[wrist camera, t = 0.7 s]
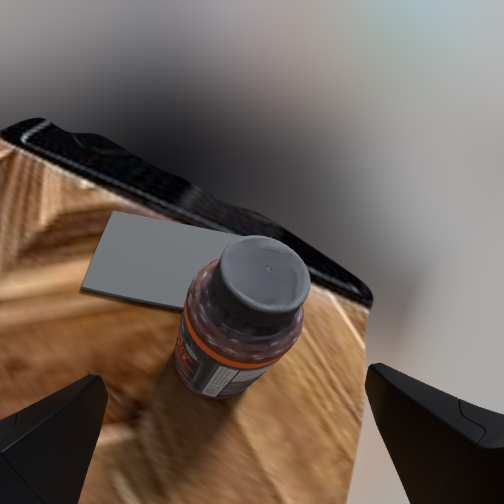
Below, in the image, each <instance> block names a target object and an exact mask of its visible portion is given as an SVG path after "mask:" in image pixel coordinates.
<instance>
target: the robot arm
mask: <svg viewBox="0 0 504 504" xmlns="http://www.w3.org/2000/svg"><path fill="white" fill-rule="evenodd" d="M365 390H366V394H367V397H368V400H369V403H370V406H371V409H372V412H373V416H374V419H375V422H376V425H377V427H378V429H379V432H380V434H381V436H382V439H383V441H384V443H385V445H386V448H387V450H388V452H389V454H390V457H391V459H392V461H393V464H394V466H395V468H396V471H397V473H398V475H399V478H400V480H401V482H402V484H403V487H404V489H405V492H406V494H407V497H408V499H409V502H410V504H504V414H500V413H497V412H493V411H490V410H487V409H484V408H481V407H478V406H476V405H473V404H471V403H468V402H466V401H464V400H461V399H458V398H457V397H454V396H452V395H450V394H448V393H445V392H443V391H441V390H438V389H436V388H434V387H432V386H429V385H427V384H425V383H423V382H421V381H419V380H417V379H414V378H412V377H410V376H408V375H406V374H404V373H401V372H399V371H397V370H395V369H393V368H391V367H389V366H387V365H385V364H382V363H376V364H371V365H370V366H369V367H368V371H367V376H366V381H365ZM107 401H108V393H107V391H106V388H105V385H104V383H103V380H102V378H101V376H99V375H95V374H89V375H87V376H85V377H83V378H81V379H79V380H77V381H76V382H74V383H72V384H70V385H68V386H66V387H64V388H62V389H61V390H59V391H57V392H55V393H53V394H51V395H49V396H47V397H45V398H43V399H42V400H40V401H38V402H36V403H34V404H32V405H30V406H28V407H26V408H24V409H22V410H20V411H18V413H17V412H16V413H14V414H12V415H10V416H8V417H6V418H4V419H2V420H0V504H78V501H79V498H80V494H81V491H82V487H83V484H84V481H85V477H86V474H87V471H88V468H89V464H90V461H91V458H92V455H93V452H94V449H95V446H96V443H97V440H98V437H99V434H100V431H101V427H102V422H103V418H104V413H105V409H106V405H107Z"/></svg>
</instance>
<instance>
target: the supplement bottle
mask: <svg viewBox="0 0 504 504" xmlns="http://www.w3.org/2000/svg"><path fill="white" fill-rule="evenodd" d="M309 290H310V276H309V272H308V269H307V267H306V266H305V264H304V262H303V261H302V259H301V258H300V257H299V256H298V255H297V254H296V253H295V252H294V251H293V250H292V249H290V248H289V247H288V246H286V245H284V244H283V243H281V242H279V241H277V240H274V239H272V238H268V237H264V236H244V237H241V238H238V239H236V240H234V241H232V242H231V243H230V244H229V245H227V246H226V248H225V249H224V251H223V252H222V254H221V257H220V258H219V259H216V260H214V261H212V262H210V263H209V264H207V265H206V266H204V267H203V268H202V269H201V270H200V271H199V272H198V273H197V275H196V276H195V277H194V279H193V280H192V282H191V285H190V287H189V289H188V292H187V296H186V300H185V303H184V308H183V313H182V318H181V323H180V327H179V332H178V336H177V341H176V346H175V353H174V355H175V356H174V359H175V366H176V369H177V372H178V374H179V376H180V378H181V380H182V381H183V382H184V384H185V385H186V386H187V387H188V388H189V389H190V390H192V391H193V392H195V393H196V394H199V395H201V396H204V397H206V398H211V399H226V398H230V397H233V396H236V395H238V394H239V393H241V392H242V391H244V390H245V389H247V388H248V387H249V386H250V385H251V384H252V383H253V382H255V381H256V380H257V379H258V378H259V377H260V376H261V375H262V374H264V373H265V372H266V371H267V370H268V369H269V368H270V367H271V366H272V365H274V364H275V363H276V362H277V361H278V360H279V359H280V358H281V357H282V356H283V355H284V354H285V353H286V352H287V351H288V350H289V349H290V348H291V347H292V346H293V344H294V343H295V342H296V341H297V339H298V337H299V335H300V333H301V330H302V327H303V320H304V310H303V303H304V301H305V300H306V298H307V296H308V293H309Z"/></svg>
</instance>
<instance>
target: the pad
mask: <svg viewBox="0 0 504 504" xmlns="http://www.w3.org/2000/svg"><path fill="white" fill-rule="evenodd" d="M241 237H244V236H239V235H234V234H229V233H224V232H219V231H214V230H209V229H204V228H199V227H194V226H189V225H184V224H179V223H174V222H169V221H164V220H159V219H154V218H149V217H143V216H138V215H133V214H128V213H123V212H117V211H113V213H112V215H111V217H110V219H109V221H108V224H107V226H106V228H105V230H104V232H103V235H102V237H101V239H100V242H99V244H98V246H97V249H96V251H95V253H94V256H93V258H92V261H91V263H90V266H89V268H88V271H87V274H86V276H85V279H84V282H83V284H82V289H83V290H87V291H92V292H96V293H100V294H105V295H109V296H114V297H118V298H123V299H127V300H132V301H137V302H142V303H147V304H152V305H157V306H163V307H168V308H174V309H179V310H183V308H184V303H185V300H186V296H187V292H188V289H189V287H190V285H191V282H192V280H193V279H194V277H195V276H196V275H197V273H198V272H199V271H200V270H201V269H202V268H203V267H204V266H206V265H207V264H209V263H210V262H212V261H214V260H216V259H219V258H220V257H221V254H222V252H223V251H224V249H225V248H226V246H227V245H229V244H230V243H231V242H232V241H234V240H236V239H238V238H241Z"/></svg>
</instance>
